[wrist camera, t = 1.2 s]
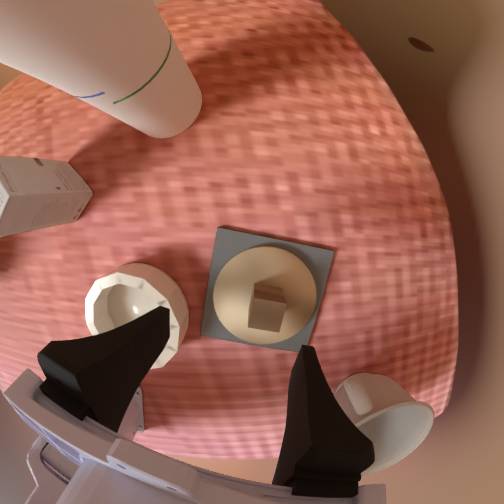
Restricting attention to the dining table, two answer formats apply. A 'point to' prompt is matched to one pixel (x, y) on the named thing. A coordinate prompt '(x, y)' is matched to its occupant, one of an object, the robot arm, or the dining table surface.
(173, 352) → the bowl
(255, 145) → the dining table surface
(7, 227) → the skincare box
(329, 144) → the dining table surface
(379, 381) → the teacup
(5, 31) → the cylindrical container
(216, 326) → the mat
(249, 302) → the lid
